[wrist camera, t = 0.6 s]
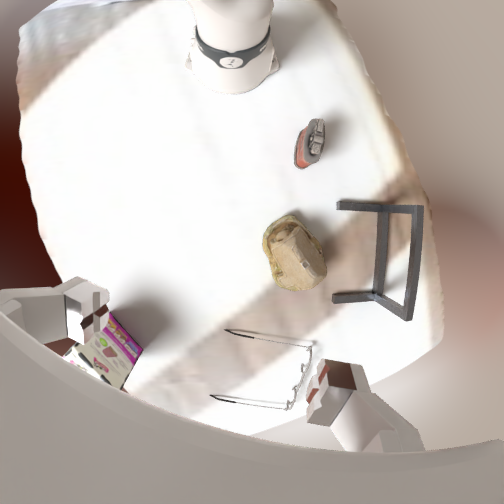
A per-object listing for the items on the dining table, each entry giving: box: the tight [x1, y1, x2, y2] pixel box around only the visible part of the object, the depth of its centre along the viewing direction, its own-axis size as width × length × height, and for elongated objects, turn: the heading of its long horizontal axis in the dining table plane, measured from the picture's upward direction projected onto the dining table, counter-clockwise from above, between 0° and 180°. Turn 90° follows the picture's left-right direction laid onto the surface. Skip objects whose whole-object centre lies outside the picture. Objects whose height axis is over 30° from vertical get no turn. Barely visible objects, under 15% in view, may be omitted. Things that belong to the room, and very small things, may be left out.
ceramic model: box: [263, 215, 327, 291], centre depth 48 cm, size 14×11×10 cm
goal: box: [332, 202, 424, 321], centre depth 47 cm, size 20×11×14 cm, turn 0°
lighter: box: [294, 119, 325, 169], centre depth 45 cm, size 8×3×10 cm, turn 169°
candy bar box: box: [63, 312, 143, 390], centre depth 44 cm, size 11×5×16 cm, turn 38°
